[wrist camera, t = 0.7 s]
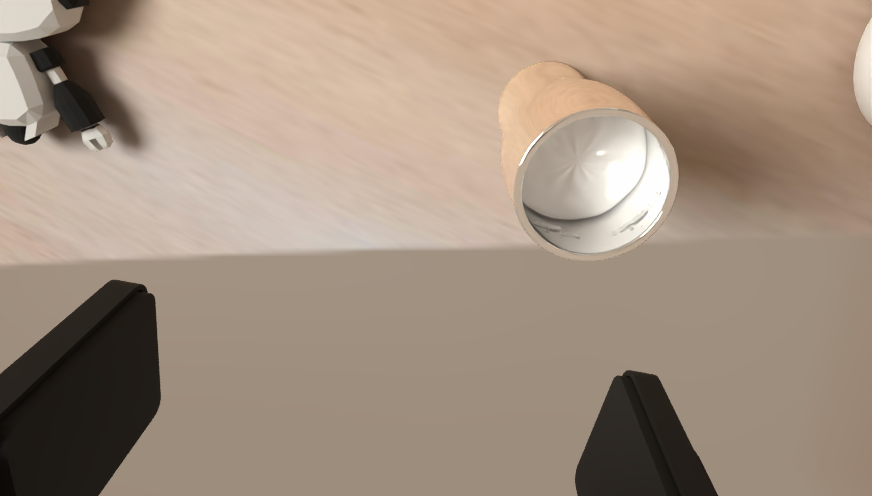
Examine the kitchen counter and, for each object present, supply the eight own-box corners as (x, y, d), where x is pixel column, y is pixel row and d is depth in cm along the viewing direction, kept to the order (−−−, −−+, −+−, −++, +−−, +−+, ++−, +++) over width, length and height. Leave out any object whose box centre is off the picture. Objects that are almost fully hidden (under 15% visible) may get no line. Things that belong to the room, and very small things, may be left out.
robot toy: (143, 142, 39) (105, -110, 31) (106, 166, 35) (52, -115, 27) (-33, 117, 38) (-114, -142, 31) (-90, 139, 35) (-199, -152, 27)
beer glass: (594, 161, 37) (670, 266, 23) (490, 163, 37) (505, 266, 24) (605, 52, 34) (700, 99, 20) (491, 55, 34) (511, 103, 21)
